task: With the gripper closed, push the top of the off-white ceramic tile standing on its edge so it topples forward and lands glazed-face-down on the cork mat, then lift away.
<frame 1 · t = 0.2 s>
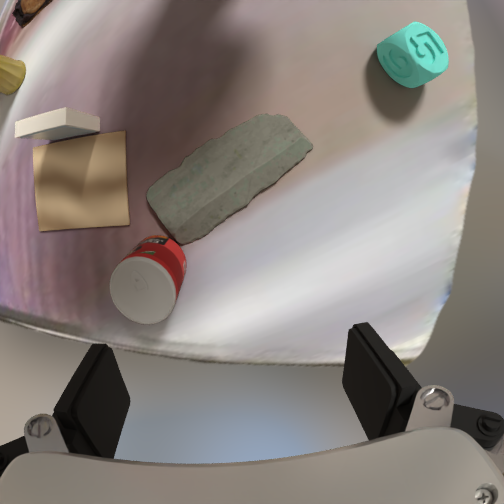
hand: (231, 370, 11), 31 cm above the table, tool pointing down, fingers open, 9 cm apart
tile: (76, 128, 35), on the table
stone slab: (229, 170, 39), on the table
canned food: (161, 260, 42), on the table
decorative dice: (399, 61, 35), on the table
vase: (13, 77, 30), on the table
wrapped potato: (39, 0, 26), on the table
mat: (77, 183, 37), on the table
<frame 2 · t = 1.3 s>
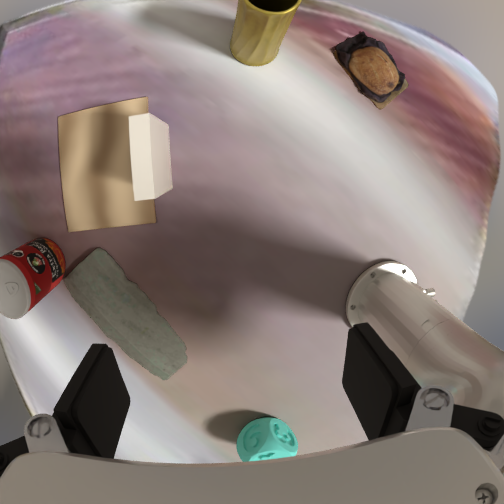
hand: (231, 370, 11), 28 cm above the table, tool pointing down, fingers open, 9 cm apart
tile: (162, 157, 35), on the table
stone slab: (131, 318, 41), on the table
canned food: (46, 261, 37), on the table
decorative dice: (264, 428, 50), on the table
vase: (254, 46, 31), on the table
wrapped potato: (370, 69, 34), on the table
mat: (103, 166, 34), on the table
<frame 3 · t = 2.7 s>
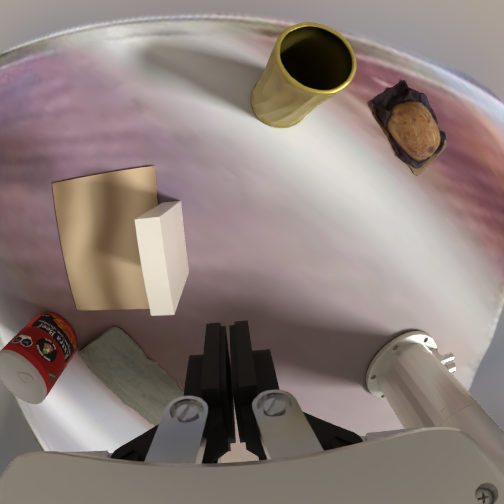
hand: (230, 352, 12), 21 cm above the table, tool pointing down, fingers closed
tile: (175, 238, 32), on the table
stone slab: (151, 389, 39), on the table
canned food: (56, 333, 35), on the table
vase: (279, 101, 29), on the table
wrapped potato: (408, 126, 31), on the table
mat: (109, 244, 32), on the table
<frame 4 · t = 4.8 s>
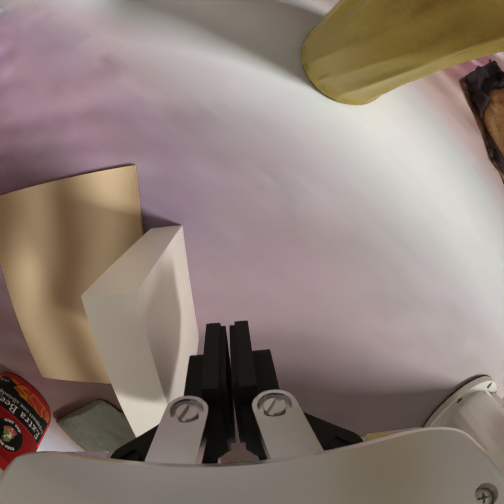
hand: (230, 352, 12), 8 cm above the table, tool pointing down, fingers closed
tile: (175, 286, 19), on the table
stone slab: (155, 463, 26), on the table
canned food: (24, 397, 22), on the table
vase: (345, 63, 16), on the table
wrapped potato: (498, 122, 18), on the table
mat: (71, 293, 19), on the table
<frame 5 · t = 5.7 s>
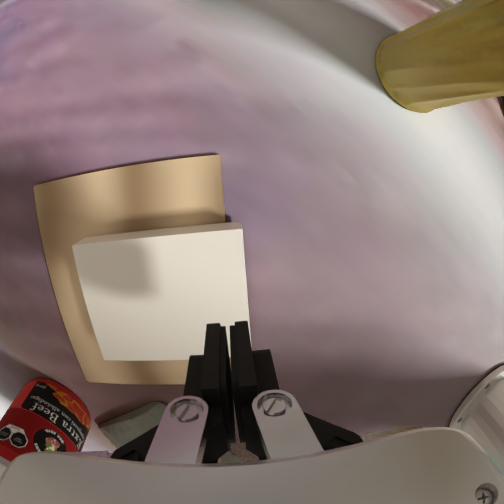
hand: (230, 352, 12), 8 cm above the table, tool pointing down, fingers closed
tile: (246, 291, 18), point 2 cm above the table, tilted 90°, touching mat
stone slab: (201, 464, 26), on the table
canned food: (58, 403, 22), on the table
vase: (409, 73, 16), on the table
mat: (134, 289, 19), on the table
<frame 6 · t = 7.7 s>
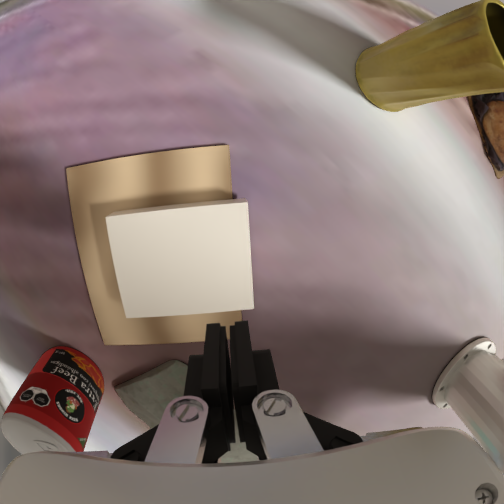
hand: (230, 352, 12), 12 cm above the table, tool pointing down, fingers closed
tile: (249, 254, 22), point 2 cm above the table, tilted 90°, touching mat
stone slab: (206, 427, 31), on the table
canned food: (73, 371, 26), on the table
vase: (384, 79, 21), on the table
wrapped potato: (493, 126, 23), on the table
mat: (154, 256, 23), on the table
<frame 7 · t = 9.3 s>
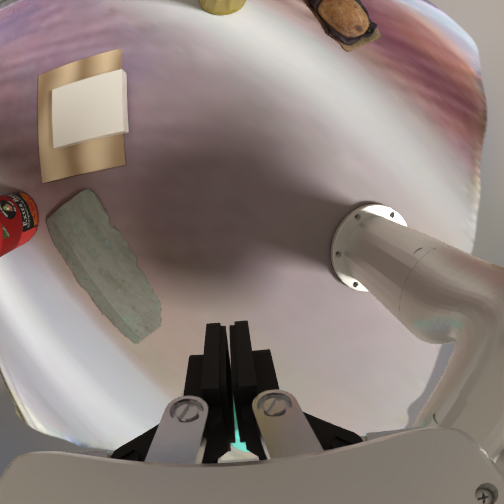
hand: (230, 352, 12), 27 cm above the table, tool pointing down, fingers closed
tile: (124, 100, 30), point 2 cm above the table, tilted 90°, touching mat
stone slab: (109, 269, 38), on the table
canned food: (21, 216, 34), on the table
decorative dice: (250, 403, 47), on the table
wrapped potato: (341, 18, 31), on the table
mat: (77, 115, 31), on the table
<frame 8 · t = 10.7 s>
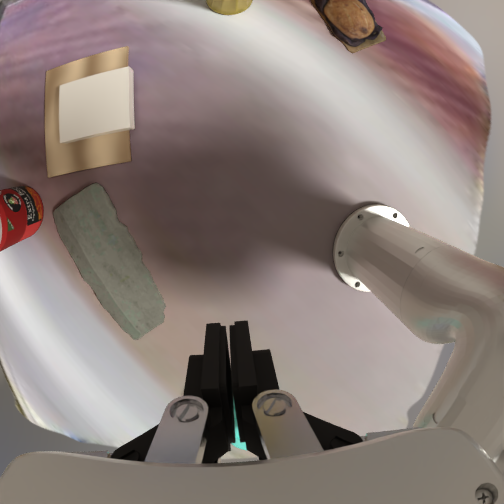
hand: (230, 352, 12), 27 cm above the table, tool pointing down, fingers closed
tile: (131, 97, 31), point 2 cm above the table, tilted 90°, touching mat
stone slab: (114, 264, 39), on the table
canned food: (26, 210, 35), on the table
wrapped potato: (347, 19, 31), on the table
mat: (84, 111, 32), on the table
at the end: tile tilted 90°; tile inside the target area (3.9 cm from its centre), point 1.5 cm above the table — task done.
